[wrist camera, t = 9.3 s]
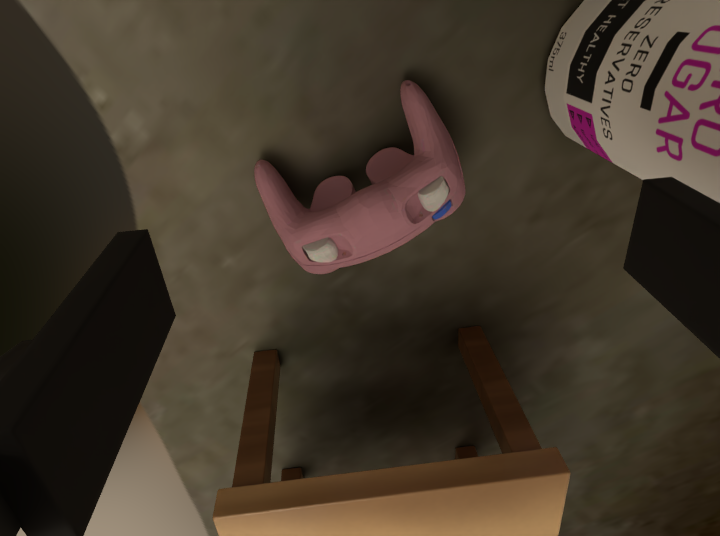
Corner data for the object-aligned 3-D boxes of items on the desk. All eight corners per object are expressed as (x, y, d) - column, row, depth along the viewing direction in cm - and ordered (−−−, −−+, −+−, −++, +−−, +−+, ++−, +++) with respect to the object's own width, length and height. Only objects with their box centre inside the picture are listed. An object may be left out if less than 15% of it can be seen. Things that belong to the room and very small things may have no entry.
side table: (244, 346, 32) (211, 518, 21) (488, 318, 32) (571, 472, 22) (279, 486, 39) (266, 668, 28) (479, 461, 39) (540, 631, 29)
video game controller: (285, 208, 29) (311, 305, 25) (242, 159, 25) (265, 264, 21) (437, 129, 28) (491, 219, 24) (415, 64, 24) (474, 157, 20)
